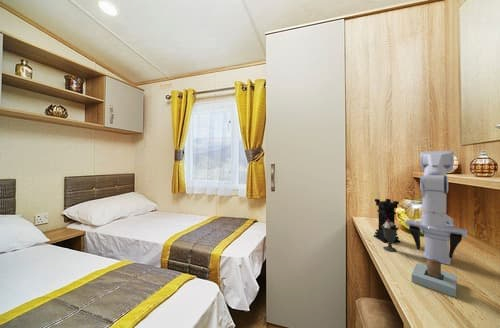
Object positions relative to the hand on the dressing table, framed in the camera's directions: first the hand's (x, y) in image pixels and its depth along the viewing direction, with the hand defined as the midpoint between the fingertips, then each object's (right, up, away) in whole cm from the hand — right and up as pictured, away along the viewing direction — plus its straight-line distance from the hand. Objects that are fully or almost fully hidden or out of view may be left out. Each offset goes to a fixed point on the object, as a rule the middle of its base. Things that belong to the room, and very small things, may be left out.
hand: (434, 252), depth 63 cm
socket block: (0, -10, 0) cm, 10 cm away
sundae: (+3, -10, +24) cm, 26 cm away
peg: (0, -10, 0) cm, 10 cm away
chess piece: (+9, -10, +35) cm, 37 cm away
